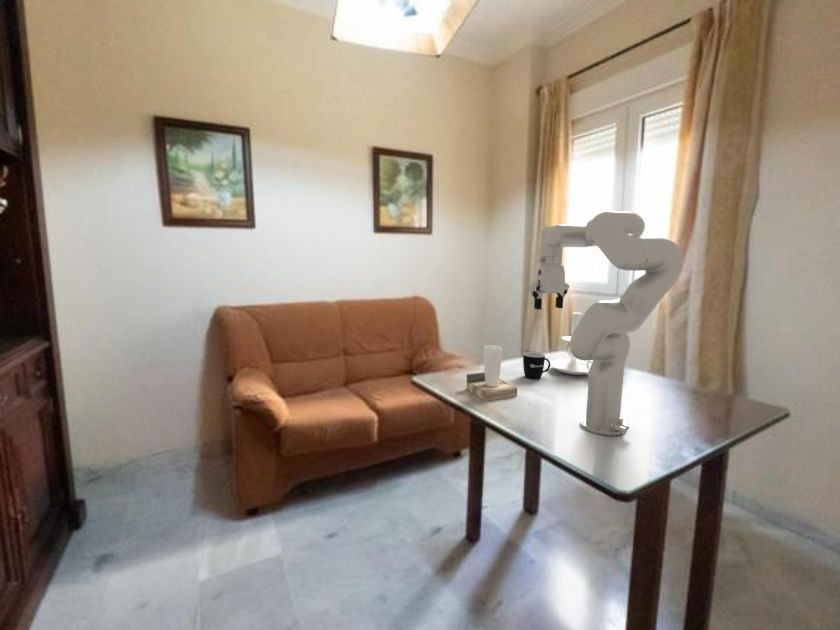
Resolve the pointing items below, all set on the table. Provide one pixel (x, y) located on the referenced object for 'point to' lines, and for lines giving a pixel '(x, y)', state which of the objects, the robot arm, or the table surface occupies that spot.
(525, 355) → the mug
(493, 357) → the white tapered cup
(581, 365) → the candlestick
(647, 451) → the table surface
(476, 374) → the dock
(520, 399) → the table surface
